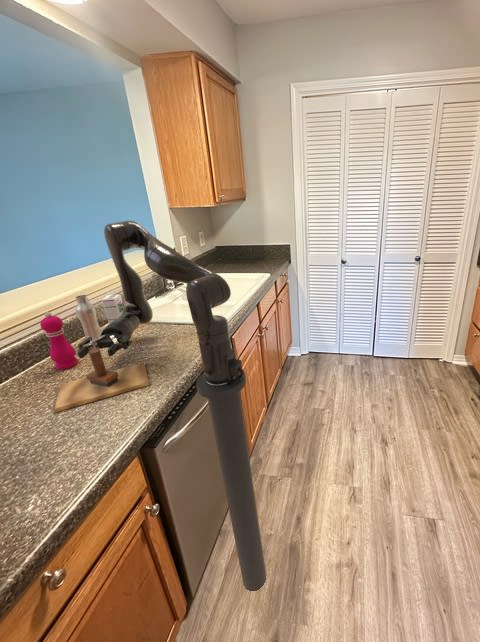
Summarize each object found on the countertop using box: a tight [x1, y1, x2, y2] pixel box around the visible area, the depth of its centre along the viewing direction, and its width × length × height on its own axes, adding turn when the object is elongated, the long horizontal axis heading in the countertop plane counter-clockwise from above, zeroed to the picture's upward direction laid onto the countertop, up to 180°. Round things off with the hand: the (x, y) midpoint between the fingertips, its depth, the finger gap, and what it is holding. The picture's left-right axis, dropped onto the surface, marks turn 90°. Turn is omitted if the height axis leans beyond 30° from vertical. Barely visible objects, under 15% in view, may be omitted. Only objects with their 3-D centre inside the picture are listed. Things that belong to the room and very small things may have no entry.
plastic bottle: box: [75, 294, 103, 346], centre depth 125 cm, size 6×7×20 cm
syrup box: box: [101, 293, 125, 325], centre depth 141 cm, size 6×6×14 cm
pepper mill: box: [39, 311, 78, 371], centre depth 110 cm, size 7×7×20 cm
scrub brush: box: [85, 349, 118, 387], centre depth 98 cm, size 8×4×11 cm, turn 71°
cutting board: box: [54, 362, 150, 413], centre depth 100 cm, size 24×14×1 cm, turn 119°
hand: (94, 354), depth 96 cm, fingers open, 8 cm apart
